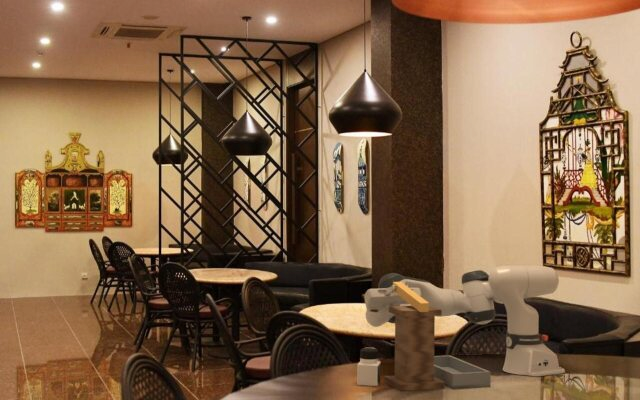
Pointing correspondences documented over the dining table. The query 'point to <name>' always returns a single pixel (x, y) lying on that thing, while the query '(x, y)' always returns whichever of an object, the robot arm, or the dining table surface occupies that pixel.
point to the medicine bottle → (369, 368)
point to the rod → (411, 297)
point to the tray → (460, 373)
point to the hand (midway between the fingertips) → (400, 286)
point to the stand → (414, 349)
